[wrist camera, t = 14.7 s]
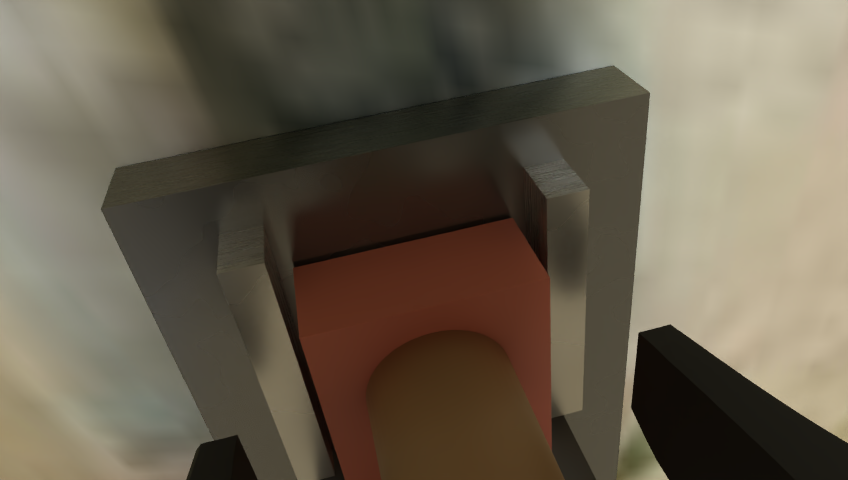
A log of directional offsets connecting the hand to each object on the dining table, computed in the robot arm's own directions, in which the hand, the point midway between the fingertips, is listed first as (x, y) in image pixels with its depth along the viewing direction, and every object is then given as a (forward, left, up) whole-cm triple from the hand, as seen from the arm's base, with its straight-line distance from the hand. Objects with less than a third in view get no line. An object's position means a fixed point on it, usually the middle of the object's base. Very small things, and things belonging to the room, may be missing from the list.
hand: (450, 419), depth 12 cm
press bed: (-6, 0, -4) cm, 7 cm away
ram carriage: (-2, 0, -3) cm, 4 cm away
